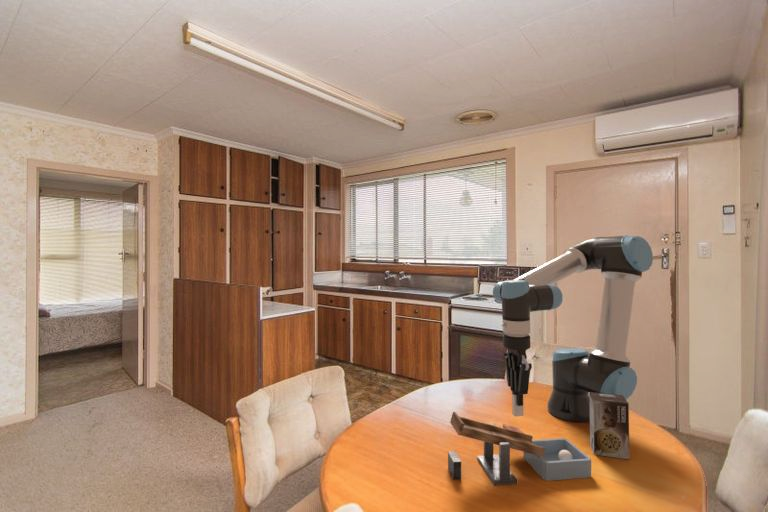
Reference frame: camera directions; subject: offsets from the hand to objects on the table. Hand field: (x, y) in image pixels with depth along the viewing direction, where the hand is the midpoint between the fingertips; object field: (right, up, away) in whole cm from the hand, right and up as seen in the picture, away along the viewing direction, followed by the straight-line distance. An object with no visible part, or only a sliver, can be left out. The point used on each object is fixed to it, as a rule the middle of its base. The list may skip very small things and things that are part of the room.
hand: (517, 414), depth 108 cm
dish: (+8, -11, -6) cm, 15 cm away
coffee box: (+27, -12, +1) cm, 29 cm away
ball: (+11, -9, -6) cm, 15 cm away
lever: (-9, -3, -5) cm, 11 cm away
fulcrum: (-13, -12, -9) cm, 20 cm away
